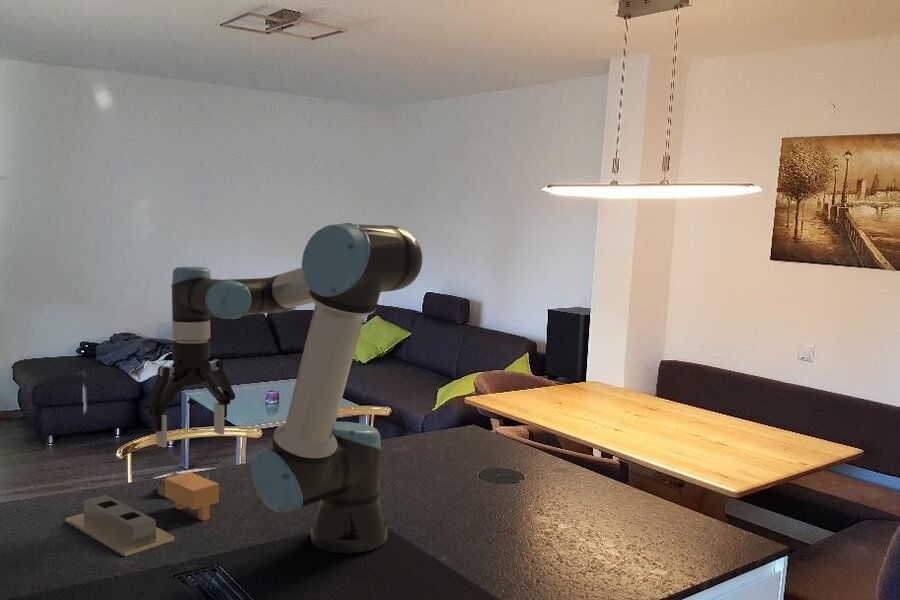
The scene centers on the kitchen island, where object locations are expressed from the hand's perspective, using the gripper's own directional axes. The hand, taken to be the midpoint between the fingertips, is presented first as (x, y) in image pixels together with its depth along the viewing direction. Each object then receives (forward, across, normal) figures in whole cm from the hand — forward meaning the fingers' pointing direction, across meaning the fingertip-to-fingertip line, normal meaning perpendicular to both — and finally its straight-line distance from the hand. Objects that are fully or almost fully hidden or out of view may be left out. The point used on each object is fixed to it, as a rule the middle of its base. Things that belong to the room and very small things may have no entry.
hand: (191, 439), depth 158 cm
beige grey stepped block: (+16, +15, -2) cm, 22 cm away
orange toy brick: (+16, 0, 0) cm, 16 cm away
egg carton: (+17, -6, -13) cm, 22 cm away
